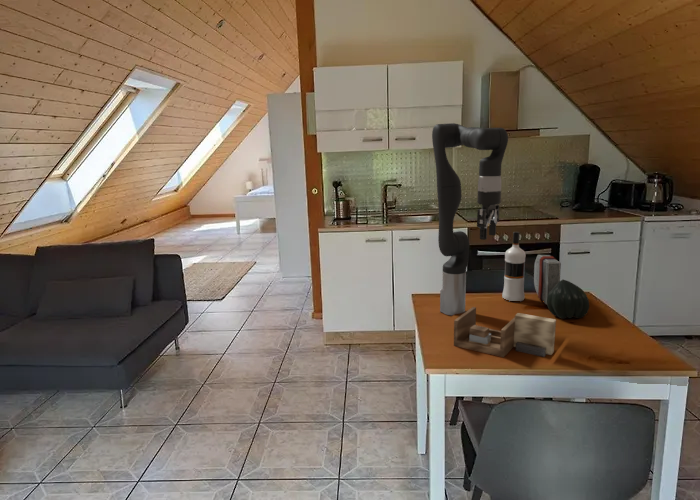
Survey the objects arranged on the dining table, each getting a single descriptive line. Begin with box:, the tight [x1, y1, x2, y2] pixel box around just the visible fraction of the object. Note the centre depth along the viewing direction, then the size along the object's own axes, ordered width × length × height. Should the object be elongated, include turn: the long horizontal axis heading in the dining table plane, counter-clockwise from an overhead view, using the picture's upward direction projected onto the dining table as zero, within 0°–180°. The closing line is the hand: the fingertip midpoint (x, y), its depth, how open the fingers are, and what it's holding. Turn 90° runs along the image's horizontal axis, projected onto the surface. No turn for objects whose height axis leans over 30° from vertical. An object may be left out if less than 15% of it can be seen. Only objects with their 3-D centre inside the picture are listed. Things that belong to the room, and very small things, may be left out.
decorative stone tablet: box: [533, 254, 562, 305], centre depth 211 cm, size 19×6×30 cm
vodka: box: [501, 231, 527, 302], centre depth 209 cm, size 9×9×30 cm
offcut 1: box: [470, 324, 490, 338], centre depth 161 cm, size 5×4×2 cm
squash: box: [546, 279, 590, 319], centre depth 189 cm, size 14×15×15 cm
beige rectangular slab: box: [513, 312, 557, 356], centre depth 158 cm, size 12×3×11 cm, turn 54°
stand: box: [515, 342, 547, 358], centre depth 158 cm, size 9×8×4 cm
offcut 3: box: [469, 341, 490, 347], centre depth 162 cm, size 6×4×2 cm, turn 54°
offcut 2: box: [469, 334, 491, 344], centre depth 161 cm, size 6×4×2 cm, turn 58°
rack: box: [453, 306, 515, 358], centre depth 164 cm, size 17×16×10 cm
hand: (487, 237), depth 165 cm, fingers open, 8 cm apart
